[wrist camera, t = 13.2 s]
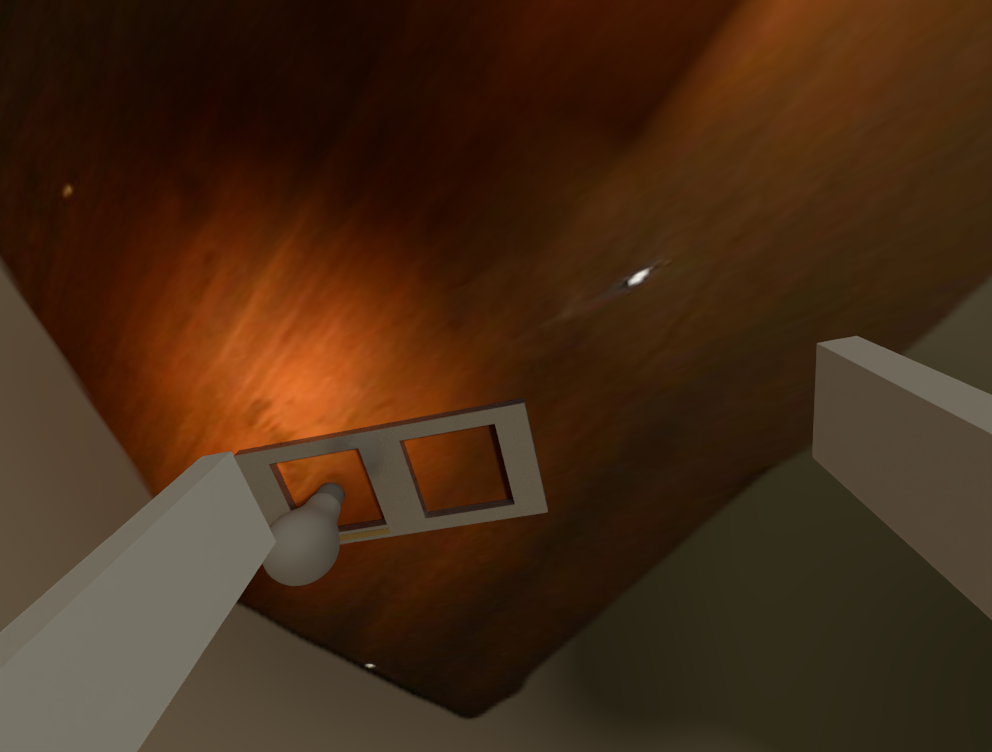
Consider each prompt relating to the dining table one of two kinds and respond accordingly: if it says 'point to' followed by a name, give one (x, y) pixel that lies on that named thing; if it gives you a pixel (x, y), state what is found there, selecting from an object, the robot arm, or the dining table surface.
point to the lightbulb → (306, 539)
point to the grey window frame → (406, 471)
